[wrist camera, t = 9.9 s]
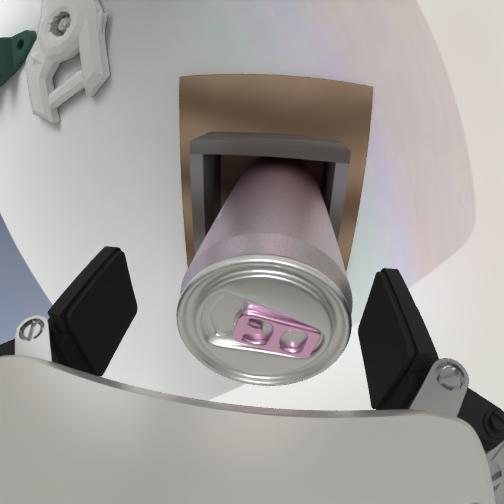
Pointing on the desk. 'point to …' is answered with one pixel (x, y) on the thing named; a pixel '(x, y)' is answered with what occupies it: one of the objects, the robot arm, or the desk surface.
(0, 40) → the mount
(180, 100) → the can dock
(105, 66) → the grey mechanical plate
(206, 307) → the beverage can
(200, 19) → the desk surface
